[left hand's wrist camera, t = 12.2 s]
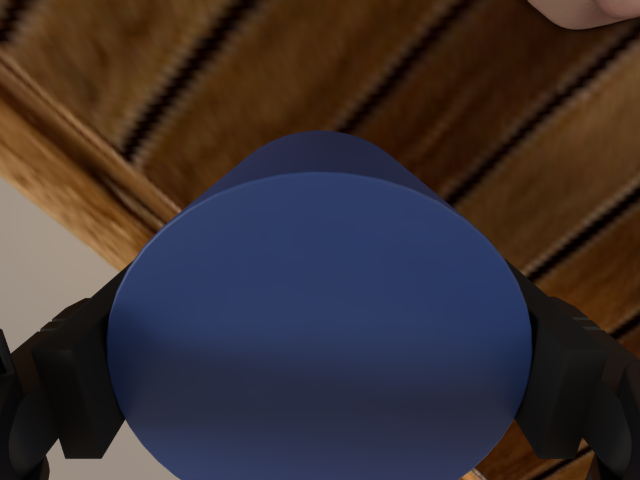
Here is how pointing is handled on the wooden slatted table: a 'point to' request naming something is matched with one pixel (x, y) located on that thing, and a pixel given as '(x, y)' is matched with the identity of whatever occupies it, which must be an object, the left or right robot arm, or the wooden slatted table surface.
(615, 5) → the anatomical model
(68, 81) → the wooden slatted table surface
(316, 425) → the cylinder
